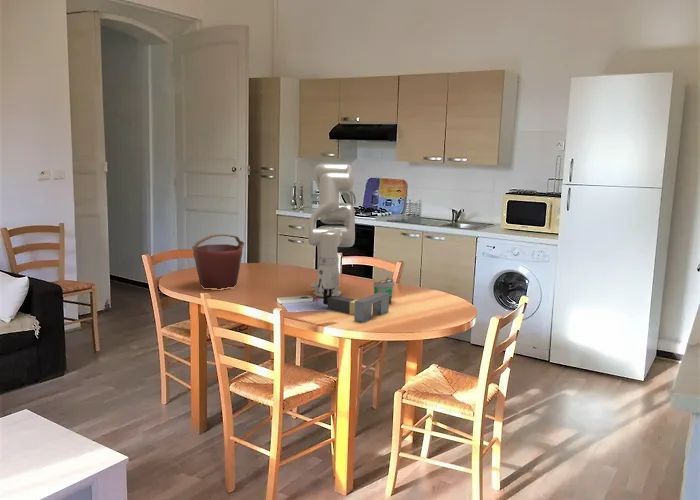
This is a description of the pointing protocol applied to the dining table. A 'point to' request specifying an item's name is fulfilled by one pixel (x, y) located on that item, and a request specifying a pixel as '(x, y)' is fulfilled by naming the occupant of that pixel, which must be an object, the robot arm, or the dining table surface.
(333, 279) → the robot arm
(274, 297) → the dining table surface
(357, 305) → the housing
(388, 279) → the food container
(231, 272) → the bucket
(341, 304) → the rod
